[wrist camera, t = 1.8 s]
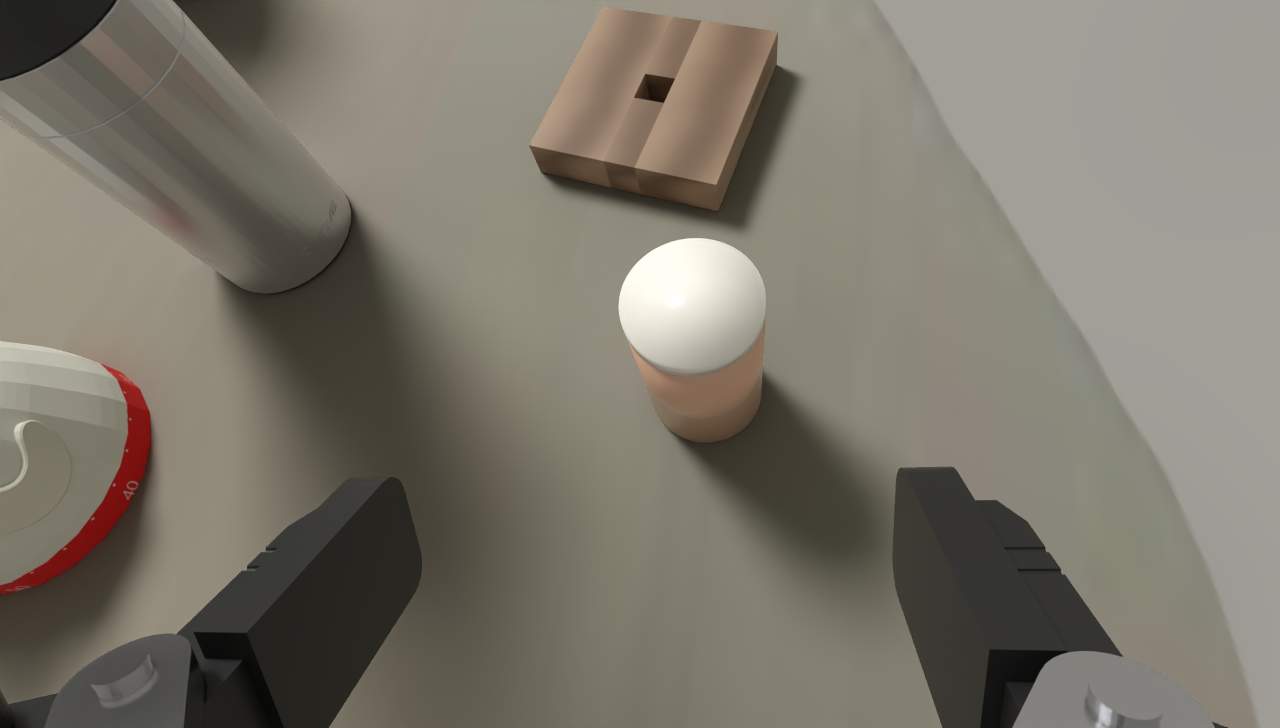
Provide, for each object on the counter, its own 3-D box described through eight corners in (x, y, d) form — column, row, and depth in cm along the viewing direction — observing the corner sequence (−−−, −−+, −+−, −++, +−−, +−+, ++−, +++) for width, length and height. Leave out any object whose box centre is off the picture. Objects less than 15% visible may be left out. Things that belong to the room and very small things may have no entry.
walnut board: (541, 172, 43) (529, 145, 40) (609, 38, 46) (602, 6, 44) (718, 211, 39) (716, 184, 37) (776, 64, 43) (777, 31, 41)
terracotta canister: (636, 423, 35) (596, 344, 26) (673, 329, 37) (648, 224, 28) (742, 457, 33) (739, 387, 24) (775, 357, 35) (784, 256, 26)
